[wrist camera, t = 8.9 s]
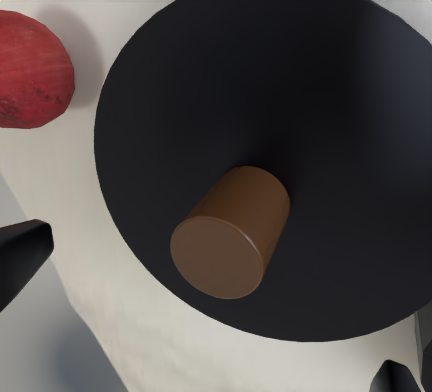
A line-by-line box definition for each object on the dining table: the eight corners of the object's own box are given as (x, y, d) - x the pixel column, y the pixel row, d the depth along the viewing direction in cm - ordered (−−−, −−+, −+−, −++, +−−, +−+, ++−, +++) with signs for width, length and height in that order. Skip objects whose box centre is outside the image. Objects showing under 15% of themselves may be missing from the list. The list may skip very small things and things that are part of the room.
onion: (121, 87, 21) (5, 125, 14) (64, 123, 24) (-52, 169, 17) (66, -11, 19) (-92, -18, 13) (13, 41, 22) (-136, 57, 16)
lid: (598, 20, 8) (799, 37, 4) (379, 366, 15) (379, 489, 12) (105, -49, 12) (-30, -75, 8) (114, 258, 19) (47, 324, 15)
